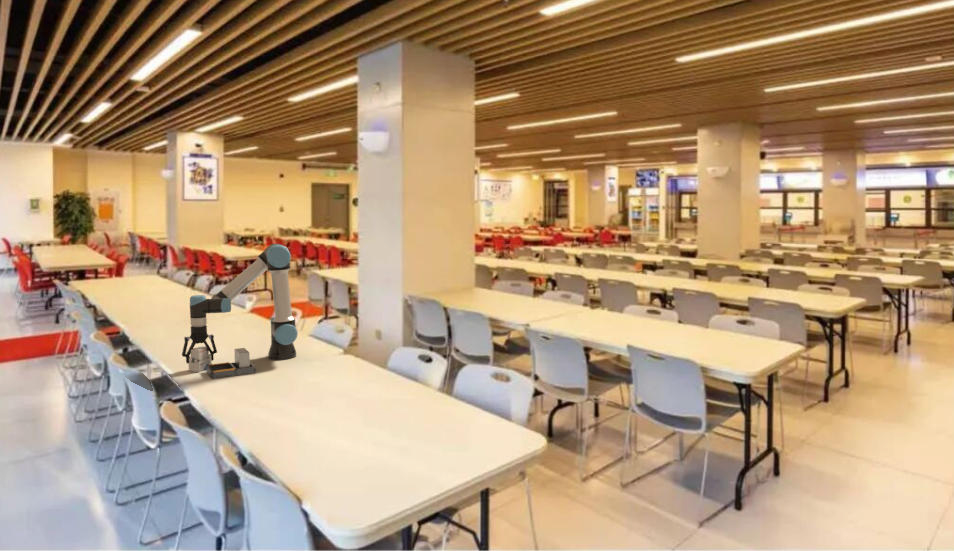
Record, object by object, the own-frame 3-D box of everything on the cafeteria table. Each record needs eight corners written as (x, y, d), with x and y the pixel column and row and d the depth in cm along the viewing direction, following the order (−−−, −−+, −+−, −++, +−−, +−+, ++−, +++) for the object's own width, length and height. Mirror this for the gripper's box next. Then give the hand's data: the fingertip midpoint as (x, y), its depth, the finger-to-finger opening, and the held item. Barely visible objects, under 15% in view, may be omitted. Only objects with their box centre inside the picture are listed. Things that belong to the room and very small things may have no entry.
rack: (249, 366, 319) (248, 346, 318) (255, 373, 307) (255, 351, 306) (206, 371, 308) (205, 350, 306) (211, 379, 295) (210, 356, 294)
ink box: (201, 367, 316) (200, 345, 315) (210, 368, 315) (209, 346, 314) (190, 371, 307) (189, 349, 306) (199, 372, 307) (198, 349, 305)
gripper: (219, 322, 318) (221, 363, 320) (174, 326, 306) (175, 369, 308) (222, 324, 311) (224, 366, 314) (176, 328, 299) (177, 372, 302)
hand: (200, 367), depth 311 cm, fingers closed on ink box, 9 cm apart
